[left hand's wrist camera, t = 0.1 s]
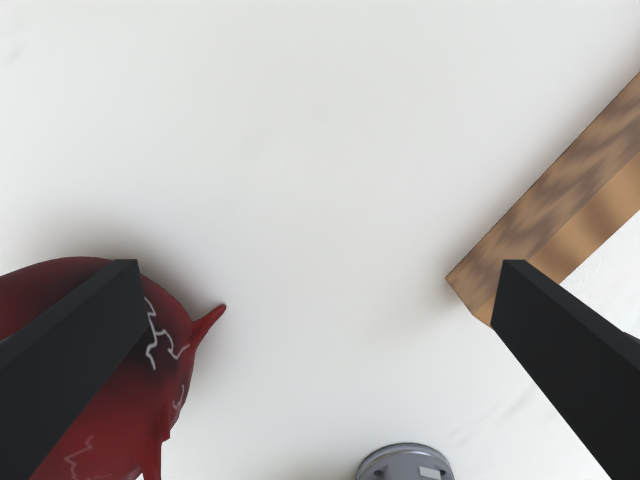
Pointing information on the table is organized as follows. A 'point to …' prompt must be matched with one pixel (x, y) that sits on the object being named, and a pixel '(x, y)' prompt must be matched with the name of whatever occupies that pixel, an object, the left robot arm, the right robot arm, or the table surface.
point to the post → (563, 207)
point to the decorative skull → (113, 376)
